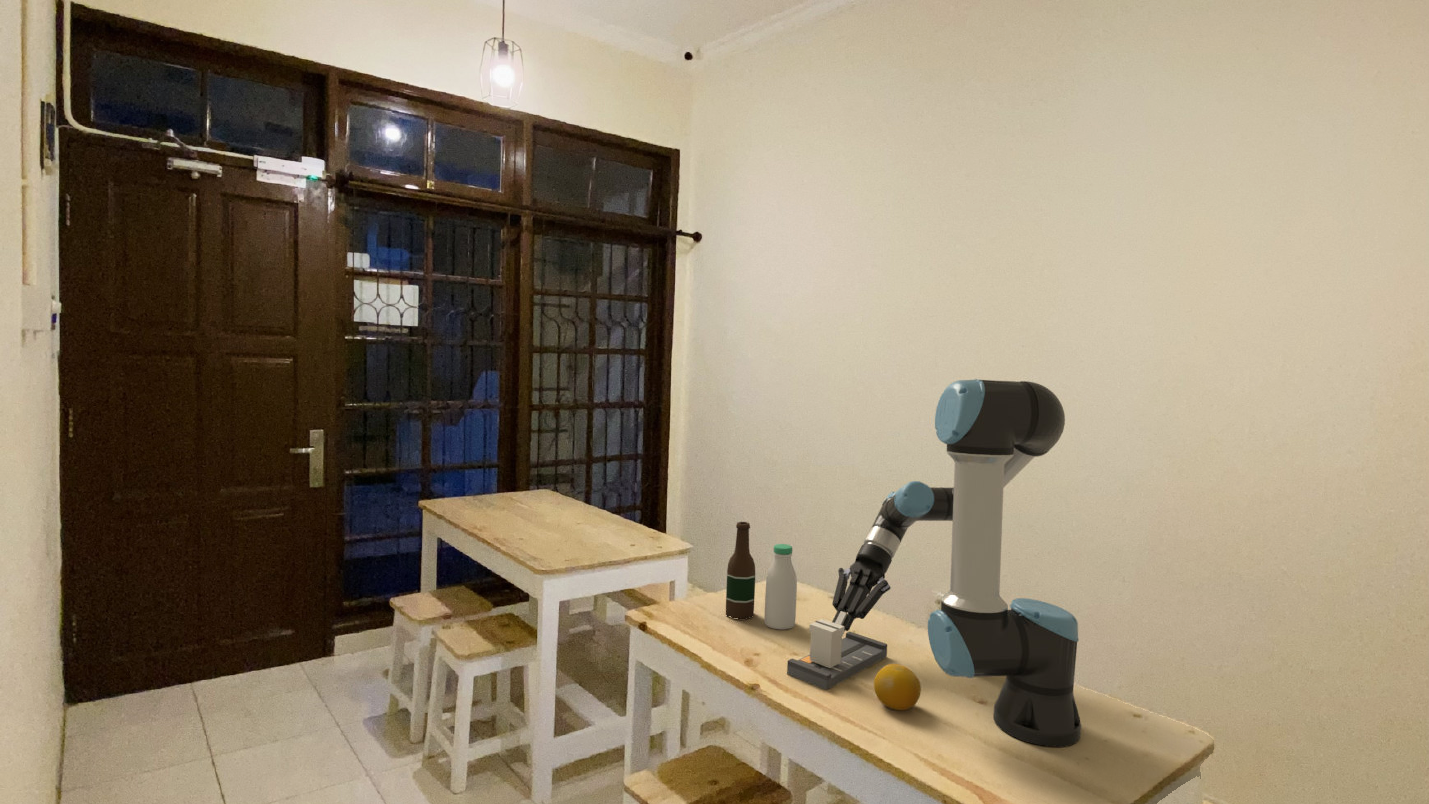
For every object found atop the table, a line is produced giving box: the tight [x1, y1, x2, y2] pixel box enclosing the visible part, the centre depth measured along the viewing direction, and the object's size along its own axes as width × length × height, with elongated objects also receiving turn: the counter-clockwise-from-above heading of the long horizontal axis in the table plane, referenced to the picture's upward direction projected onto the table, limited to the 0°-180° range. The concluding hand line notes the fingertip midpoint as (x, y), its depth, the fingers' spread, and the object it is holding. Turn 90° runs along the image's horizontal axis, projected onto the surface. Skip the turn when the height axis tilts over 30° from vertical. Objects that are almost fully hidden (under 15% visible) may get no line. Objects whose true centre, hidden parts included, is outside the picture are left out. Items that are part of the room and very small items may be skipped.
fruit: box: [873, 663, 922, 711], centre depth 149 cm, size 9×8×8 cm
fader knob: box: [808, 618, 845, 668], centre depth 163 cm, size 5×6×8 cm
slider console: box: [786, 630, 888, 691], centre depth 167 cm, size 24×10×3 cm, turn 137°
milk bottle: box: [763, 543, 798, 630], centre depth 189 cm, size 8×8×20 cm
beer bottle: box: [725, 521, 756, 620], centre depth 194 cm, size 8×8×24 cm
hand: (833, 640), depth 165 cm, fingers closed
